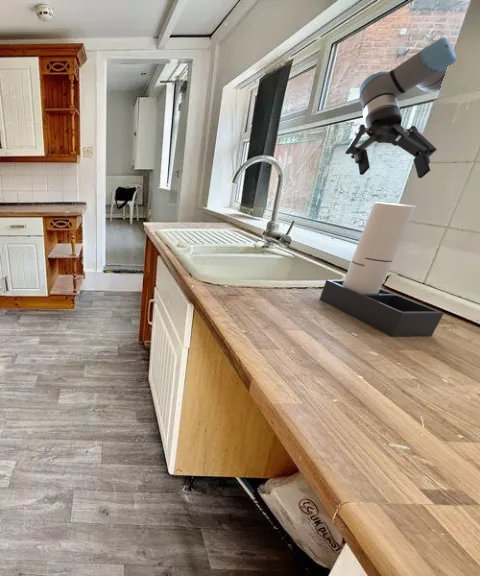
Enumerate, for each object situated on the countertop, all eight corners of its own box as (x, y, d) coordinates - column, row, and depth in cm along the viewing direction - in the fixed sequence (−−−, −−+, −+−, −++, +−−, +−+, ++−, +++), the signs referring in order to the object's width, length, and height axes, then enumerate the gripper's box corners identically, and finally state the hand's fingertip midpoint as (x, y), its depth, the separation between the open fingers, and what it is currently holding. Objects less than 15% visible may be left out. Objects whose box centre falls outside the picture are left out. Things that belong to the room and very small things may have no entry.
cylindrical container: (368, 313, 74) (414, 207, 64) (333, 302, 79) (371, 202, 69) (373, 305, 78) (417, 205, 69) (340, 296, 83) (376, 201, 74)
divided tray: (352, 299, 84) (359, 280, 82) (431, 336, 66) (444, 312, 64) (319, 299, 83) (326, 279, 80) (391, 336, 65) (402, 313, 63)
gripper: (421, 129, 90) (437, 185, 82) (326, 127, 95) (333, 179, 87) (444, 105, 83) (464, 164, 75) (341, 104, 88) (349, 159, 80)
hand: (394, 172), depth 81 cm, fingers open, 13 cm apart
